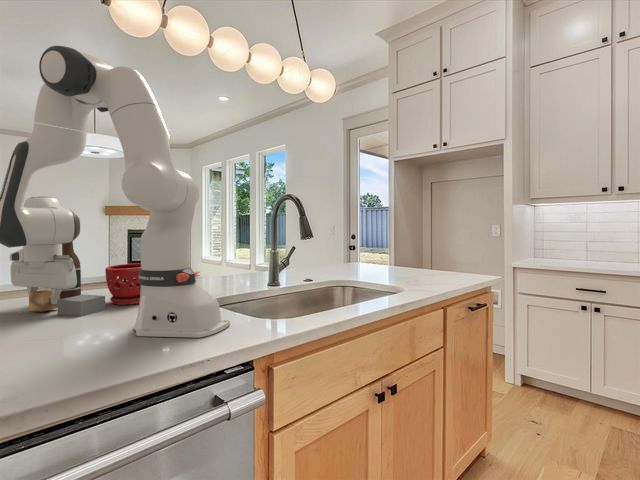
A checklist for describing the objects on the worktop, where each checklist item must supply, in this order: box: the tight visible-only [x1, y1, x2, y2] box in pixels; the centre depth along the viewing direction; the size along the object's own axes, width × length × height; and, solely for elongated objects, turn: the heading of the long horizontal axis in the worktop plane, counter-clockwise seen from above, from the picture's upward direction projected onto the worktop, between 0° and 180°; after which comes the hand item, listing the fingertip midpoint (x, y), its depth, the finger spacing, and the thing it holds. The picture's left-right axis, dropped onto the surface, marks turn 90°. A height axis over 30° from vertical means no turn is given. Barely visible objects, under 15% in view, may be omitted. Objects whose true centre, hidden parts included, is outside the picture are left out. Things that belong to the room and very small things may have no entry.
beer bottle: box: [60, 240, 82, 299], centre depth 114 cm, size 8×8×24 cm
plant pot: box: [105, 262, 141, 306], centre depth 116 cm, size 13×13×12 cm
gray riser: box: [57, 294, 106, 317], centre depth 103 cm, size 8×8×4 cm
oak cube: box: [28, 289, 60, 312], centre depth 103 cm, size 5×5×5 cm
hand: (44, 303), depth 103 cm, fingers closed on oak cube, 5 cm apart
